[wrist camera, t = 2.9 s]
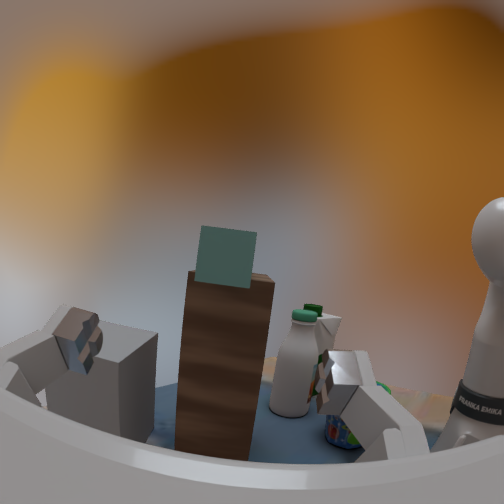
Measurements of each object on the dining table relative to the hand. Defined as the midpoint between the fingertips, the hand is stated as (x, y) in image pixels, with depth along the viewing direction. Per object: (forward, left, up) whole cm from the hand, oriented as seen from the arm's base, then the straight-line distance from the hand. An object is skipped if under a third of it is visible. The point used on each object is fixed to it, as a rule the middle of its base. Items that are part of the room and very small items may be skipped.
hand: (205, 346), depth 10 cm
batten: (+18, -10, +1) cm, 20 cm away
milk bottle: (+33, -33, -25) cm, 52 cm away
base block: (+29, +1, -25) cm, 38 cm away
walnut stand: (+23, -13, -25) cm, 36 cm away
